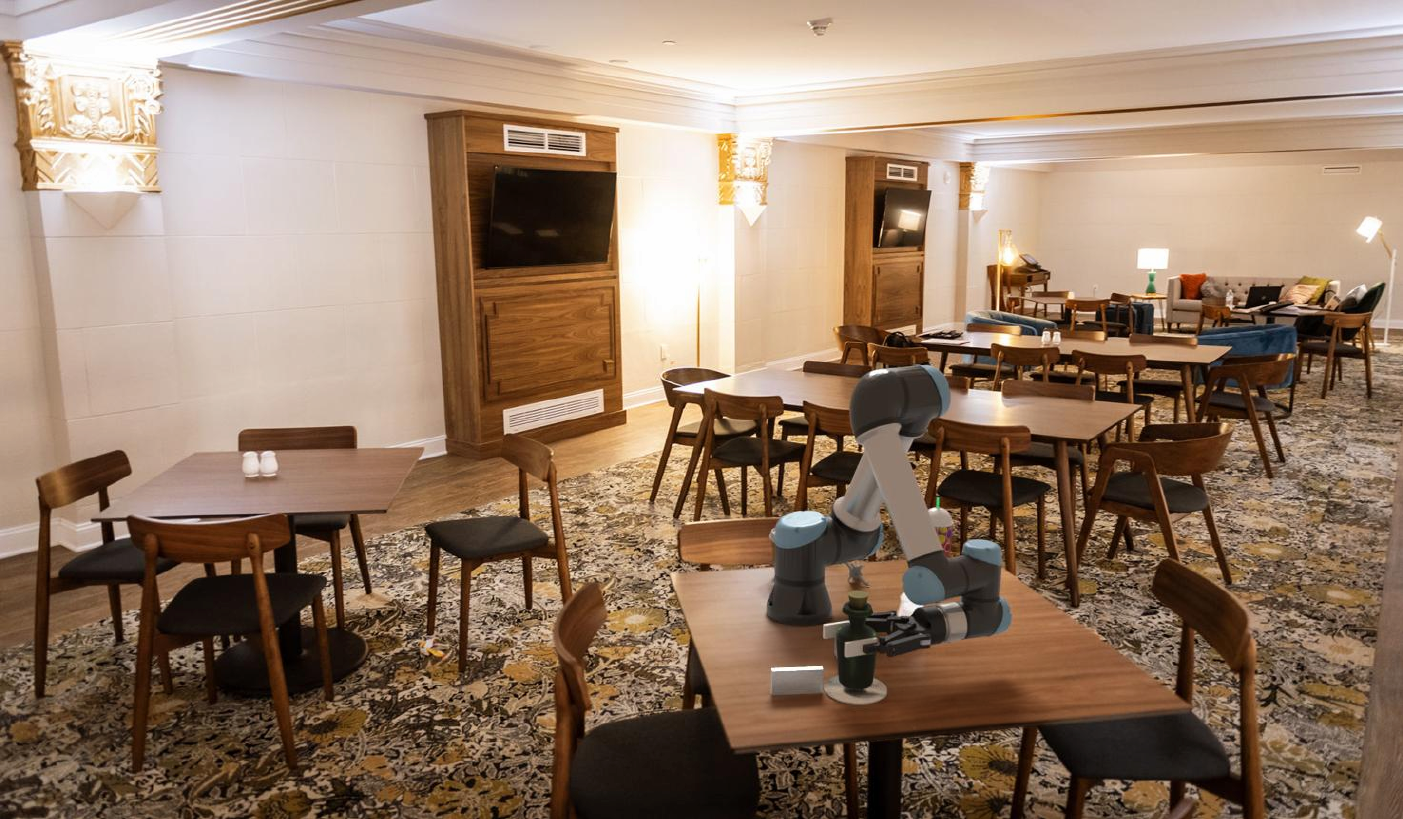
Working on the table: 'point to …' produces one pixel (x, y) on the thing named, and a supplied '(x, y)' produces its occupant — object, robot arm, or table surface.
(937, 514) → the smoothie
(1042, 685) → the table surface
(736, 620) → the table surface
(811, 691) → the shiny disc with plates
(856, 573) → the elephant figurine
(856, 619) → the potion bottle
